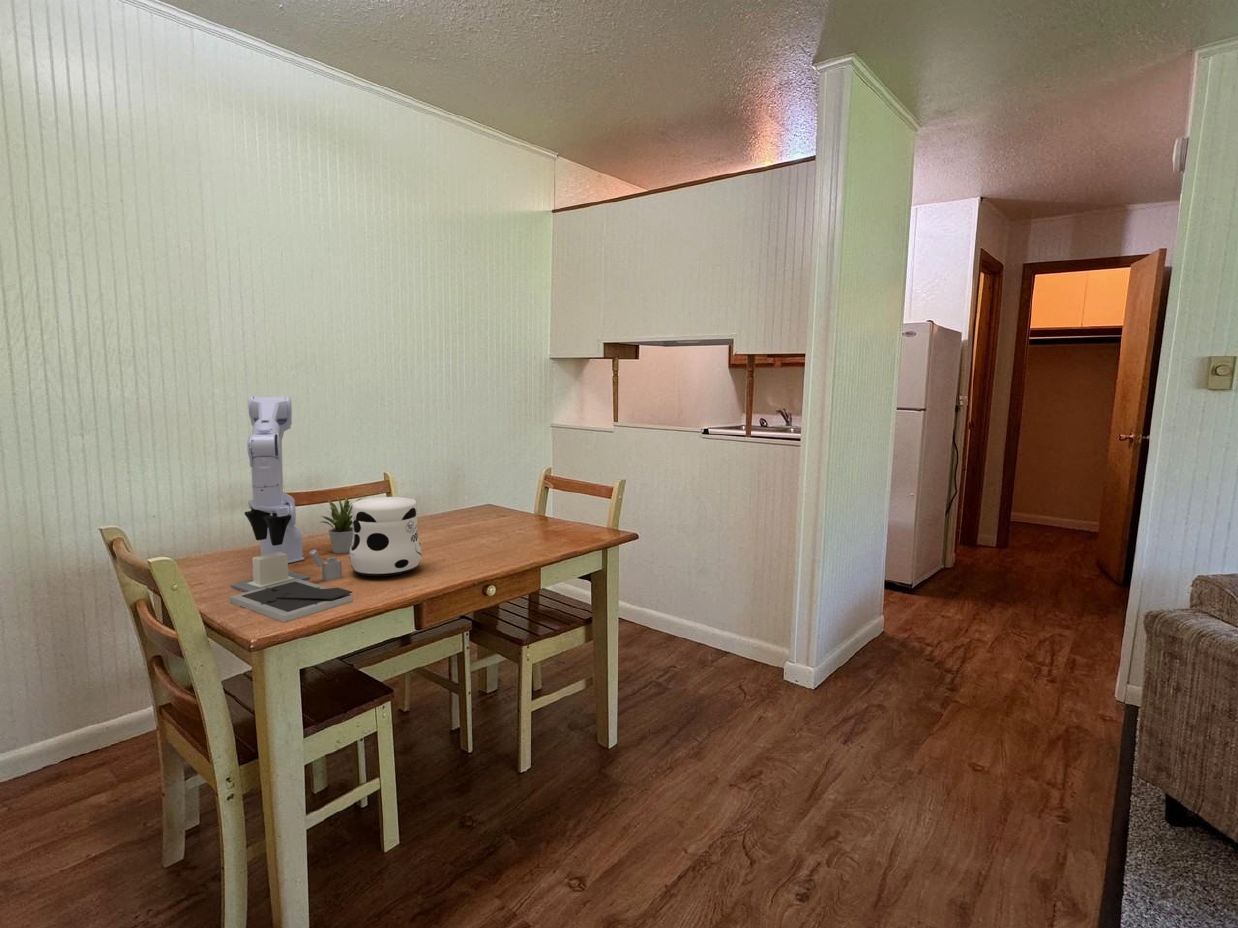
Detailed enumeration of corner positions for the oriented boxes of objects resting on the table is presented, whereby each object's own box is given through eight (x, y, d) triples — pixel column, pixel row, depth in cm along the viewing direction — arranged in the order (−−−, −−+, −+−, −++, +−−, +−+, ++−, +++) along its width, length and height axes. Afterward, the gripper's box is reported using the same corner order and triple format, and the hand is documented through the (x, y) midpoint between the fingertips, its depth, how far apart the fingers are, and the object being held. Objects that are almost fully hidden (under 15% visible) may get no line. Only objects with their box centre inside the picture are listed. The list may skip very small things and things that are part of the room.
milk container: (436, 568, 170) (435, 500, 168) (381, 585, 156) (379, 511, 153) (390, 558, 179) (388, 493, 177) (335, 574, 164) (332, 503, 162)
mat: (288, 573, 164) (288, 570, 164) (309, 579, 160) (309, 576, 160) (231, 587, 152) (230, 584, 152) (252, 594, 148) (252, 591, 148)
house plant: (383, 545, 192) (381, 490, 190) (360, 558, 179) (358, 499, 177) (337, 543, 194) (335, 489, 192) (310, 556, 180) (308, 497, 178)
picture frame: (352, 603, 145) (298, 587, 156) (352, 591, 145) (297, 575, 156) (284, 625, 132) (229, 605, 143) (283, 612, 131) (228, 593, 142)
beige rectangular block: (253, 582, 154) (252, 557, 154) (281, 575, 160) (280, 551, 159) (260, 585, 152) (259, 560, 152) (288, 578, 158) (287, 554, 157)
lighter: (338, 576, 163) (337, 544, 162) (342, 577, 162) (340, 545, 161) (309, 582, 157) (308, 549, 156) (312, 583, 156) (311, 551, 155)
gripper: (299, 486, 152) (301, 543, 154) (268, 480, 160) (271, 534, 162) (268, 490, 146) (271, 549, 148) (238, 483, 155) (241, 539, 157)
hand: (269, 542), depth 155 cm, fingers open, 7 cm apart
